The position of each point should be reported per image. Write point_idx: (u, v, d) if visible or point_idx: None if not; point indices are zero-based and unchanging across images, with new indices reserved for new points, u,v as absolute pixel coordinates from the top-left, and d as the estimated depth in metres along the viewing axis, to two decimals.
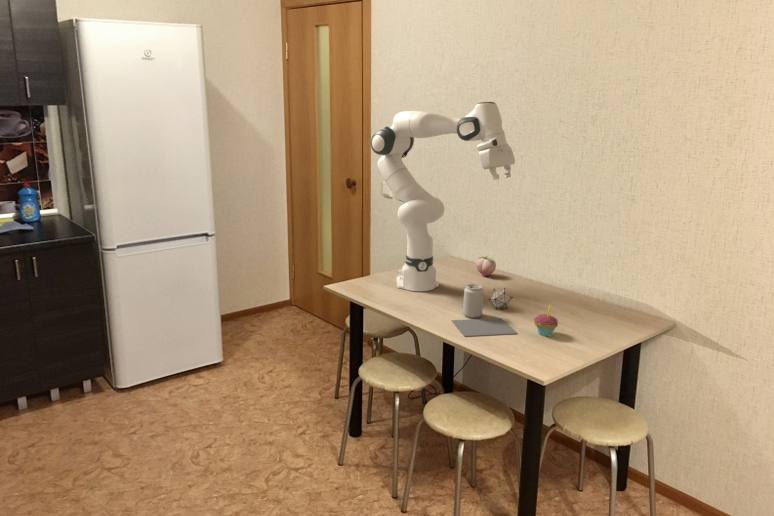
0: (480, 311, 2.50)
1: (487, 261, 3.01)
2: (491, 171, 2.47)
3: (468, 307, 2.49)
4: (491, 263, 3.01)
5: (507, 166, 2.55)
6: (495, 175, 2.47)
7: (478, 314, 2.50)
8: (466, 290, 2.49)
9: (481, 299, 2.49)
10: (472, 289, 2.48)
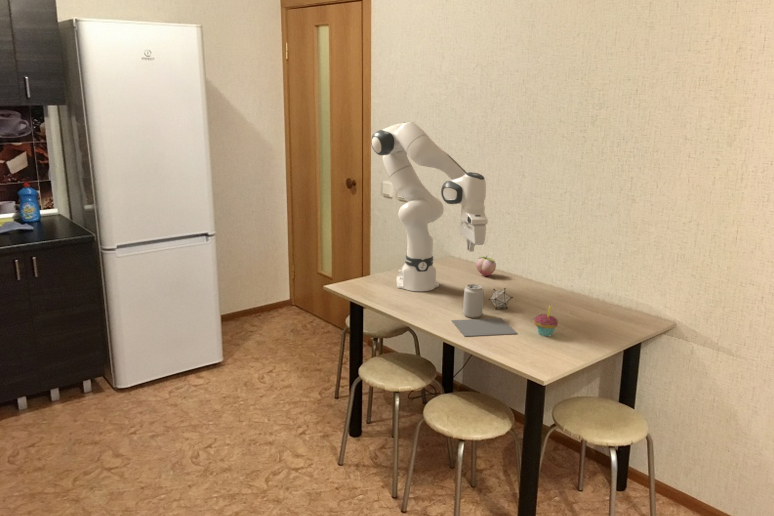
0: (480, 311, 2.50)
1: (487, 261, 3.01)
2: (472, 243, 2.51)
3: (468, 307, 2.49)
4: (491, 263, 3.01)
5: None
6: (472, 247, 2.52)
7: (478, 314, 2.50)
8: (466, 290, 2.49)
9: (481, 299, 2.49)
10: (472, 289, 2.48)
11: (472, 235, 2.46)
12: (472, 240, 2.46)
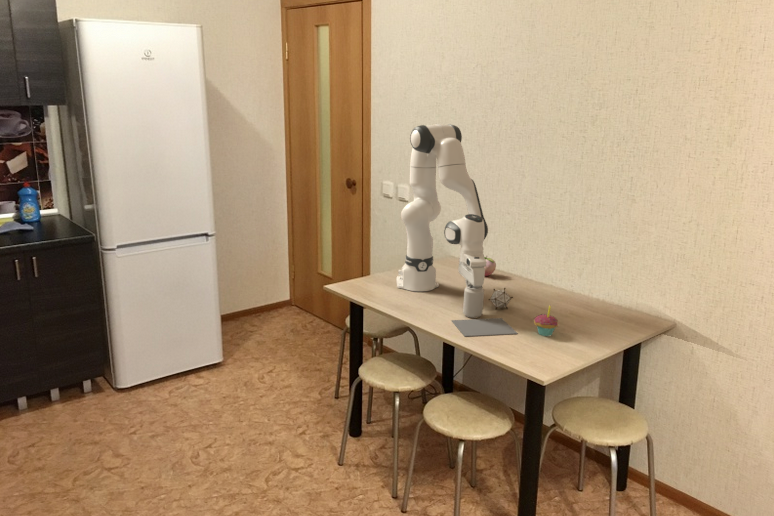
0: (480, 311, 2.50)
1: (487, 261, 3.01)
2: None
3: (468, 307, 2.49)
4: (491, 263, 3.01)
5: None
6: None
7: (478, 314, 2.50)
8: (466, 290, 2.49)
9: (481, 299, 2.49)
10: (472, 289, 2.48)
11: (471, 276, 2.48)
12: (471, 282, 2.48)
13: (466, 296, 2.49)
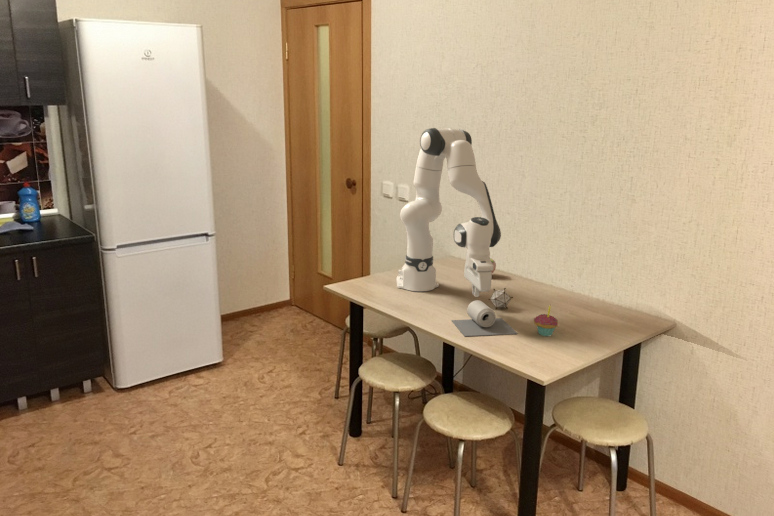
0: None
1: None
2: (477, 289, 2.47)
3: None
4: None
5: None
6: (478, 293, 2.48)
7: None
8: (478, 321, 2.39)
9: None
10: None
11: (477, 281, 2.42)
12: (478, 286, 2.42)
13: (475, 320, 2.41)
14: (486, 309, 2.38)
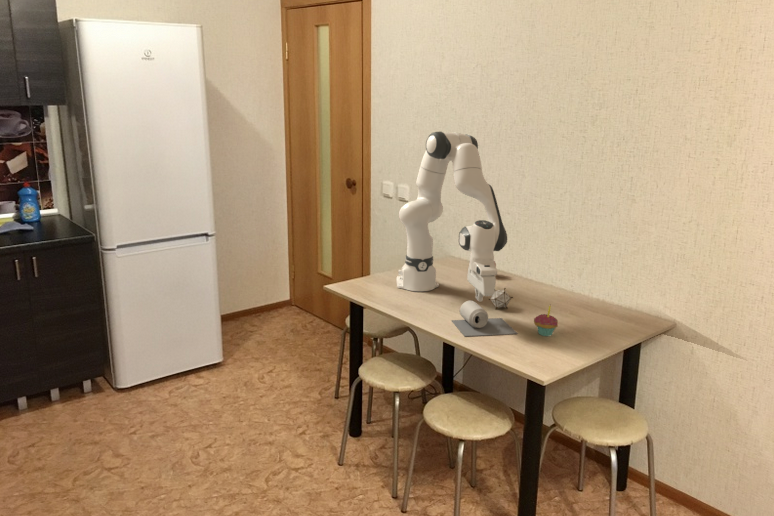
0: None
1: None
2: (480, 293, 2.43)
3: None
4: None
5: None
6: (481, 297, 2.44)
7: None
8: (474, 326, 2.39)
9: None
10: None
11: (481, 285, 2.38)
12: (481, 291, 2.38)
13: None
14: (472, 313, 2.37)
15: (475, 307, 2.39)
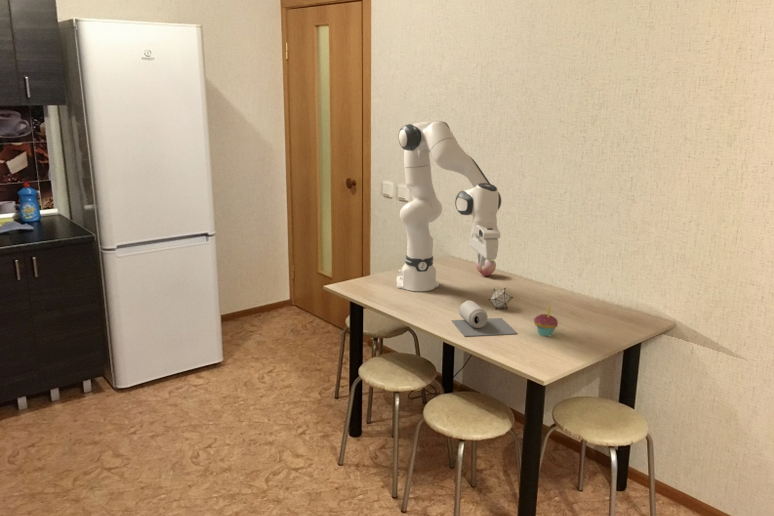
0: None
1: (487, 261, 3.01)
2: (483, 257, 2.39)
3: None
4: (491, 263, 3.01)
5: None
6: (483, 261, 2.41)
7: None
8: (474, 327, 2.39)
9: None
10: None
11: (483, 249, 2.34)
12: (483, 254, 2.34)
13: None
14: (471, 313, 2.37)
15: (474, 307, 2.39)
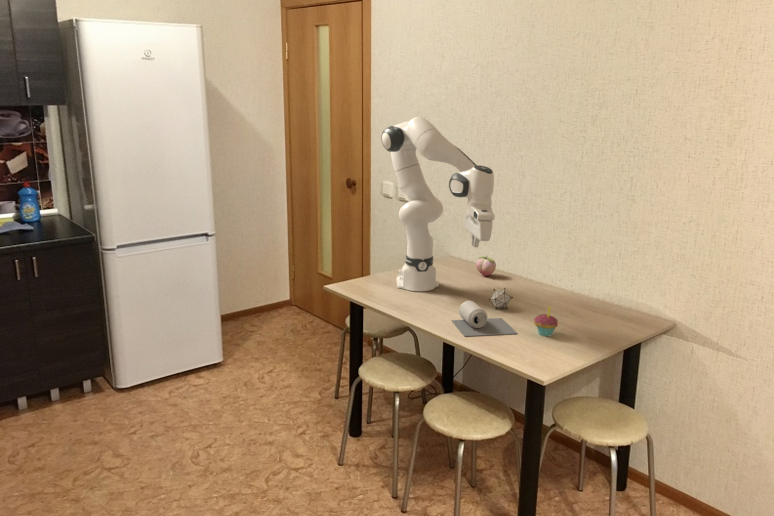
0: None
1: (487, 261, 3.01)
2: (476, 239, 2.43)
3: None
4: (491, 263, 3.01)
5: None
6: (477, 243, 2.44)
7: None
8: (474, 327, 2.39)
9: None
10: None
11: (477, 230, 2.38)
12: (477, 236, 2.38)
13: None
14: (471, 314, 2.37)
15: (473, 307, 2.39)
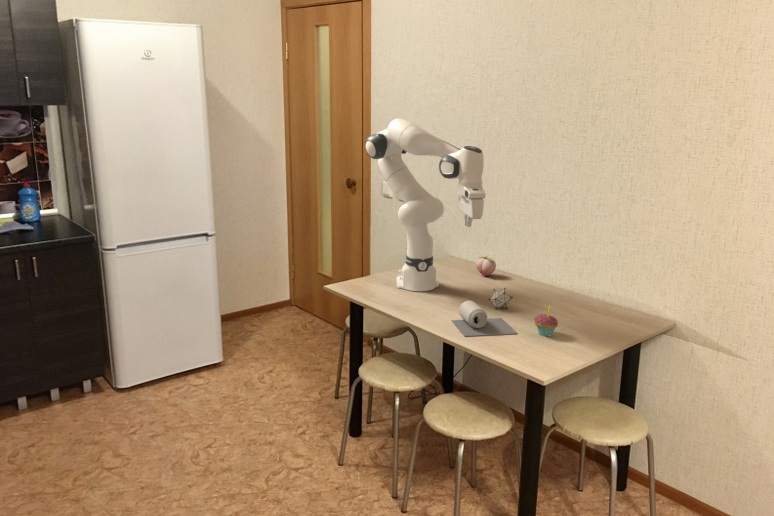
0: None
1: (487, 261, 3.01)
2: (469, 218, 2.47)
3: None
4: (491, 263, 3.01)
5: None
6: (470, 222, 2.48)
7: None
8: (474, 327, 2.39)
9: None
10: None
11: (469, 209, 2.42)
12: (470, 214, 2.42)
13: None
14: (471, 314, 2.37)
15: (473, 307, 2.39)
